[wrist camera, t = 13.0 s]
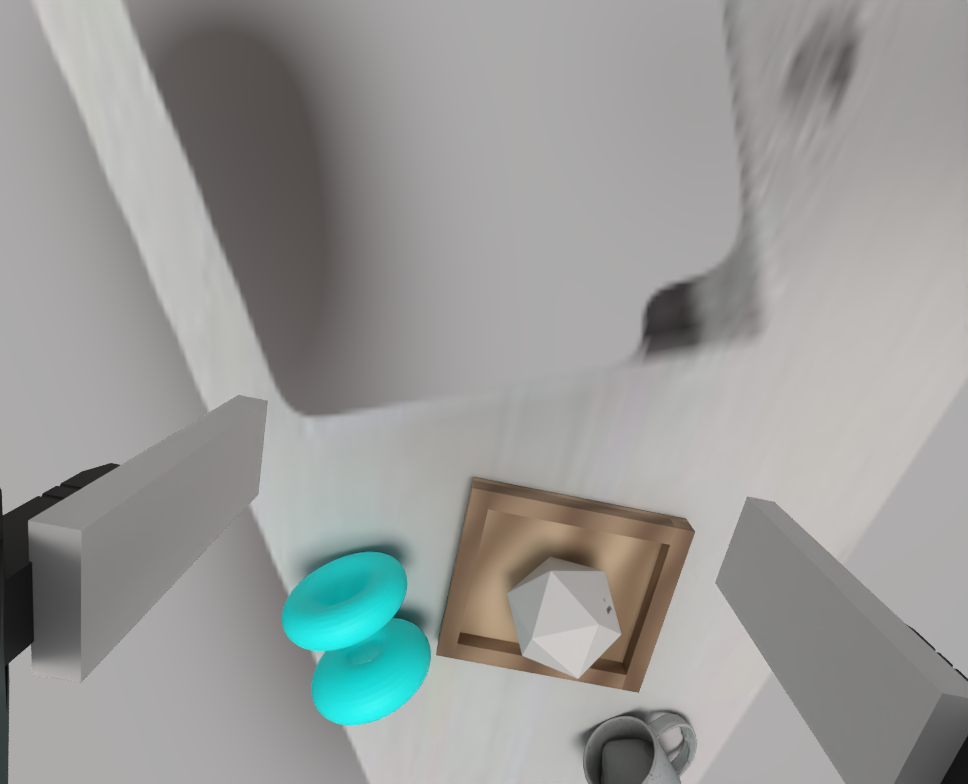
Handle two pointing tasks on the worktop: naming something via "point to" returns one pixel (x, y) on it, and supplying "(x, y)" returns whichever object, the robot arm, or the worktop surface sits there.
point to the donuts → (358, 637)
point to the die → (564, 615)
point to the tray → (571, 537)
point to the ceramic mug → (636, 752)
